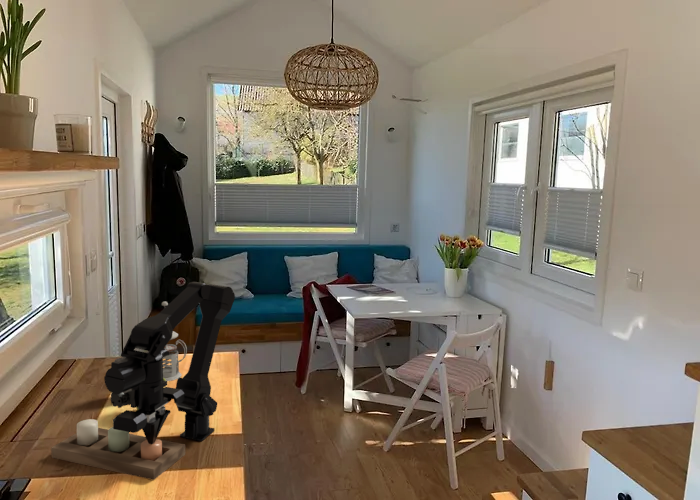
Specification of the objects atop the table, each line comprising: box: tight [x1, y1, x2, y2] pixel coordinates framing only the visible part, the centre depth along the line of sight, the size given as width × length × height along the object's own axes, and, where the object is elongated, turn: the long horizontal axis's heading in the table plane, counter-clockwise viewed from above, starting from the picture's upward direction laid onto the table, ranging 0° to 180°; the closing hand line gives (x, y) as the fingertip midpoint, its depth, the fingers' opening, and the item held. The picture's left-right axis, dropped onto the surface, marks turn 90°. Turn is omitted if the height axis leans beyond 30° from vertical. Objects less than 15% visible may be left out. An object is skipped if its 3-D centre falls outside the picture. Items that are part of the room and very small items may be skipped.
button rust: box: [141, 438, 162, 461], centre depth 130 cm, size 5×5×4 cm
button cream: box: [76, 418, 99, 446], centre depth 135 cm, size 5×5×4 cm
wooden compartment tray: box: [50, 427, 186, 481], centre depth 133 cm, size 12×28×2 cm, turn 73°
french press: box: [161, 301, 188, 382], centre depth 183 cm, size 10×12×25 cm
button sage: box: [108, 426, 130, 453], centre depth 133 cm, size 5×5×4 cm
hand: (151, 443), depth 130 cm, fingers closed, pressing on button rust
